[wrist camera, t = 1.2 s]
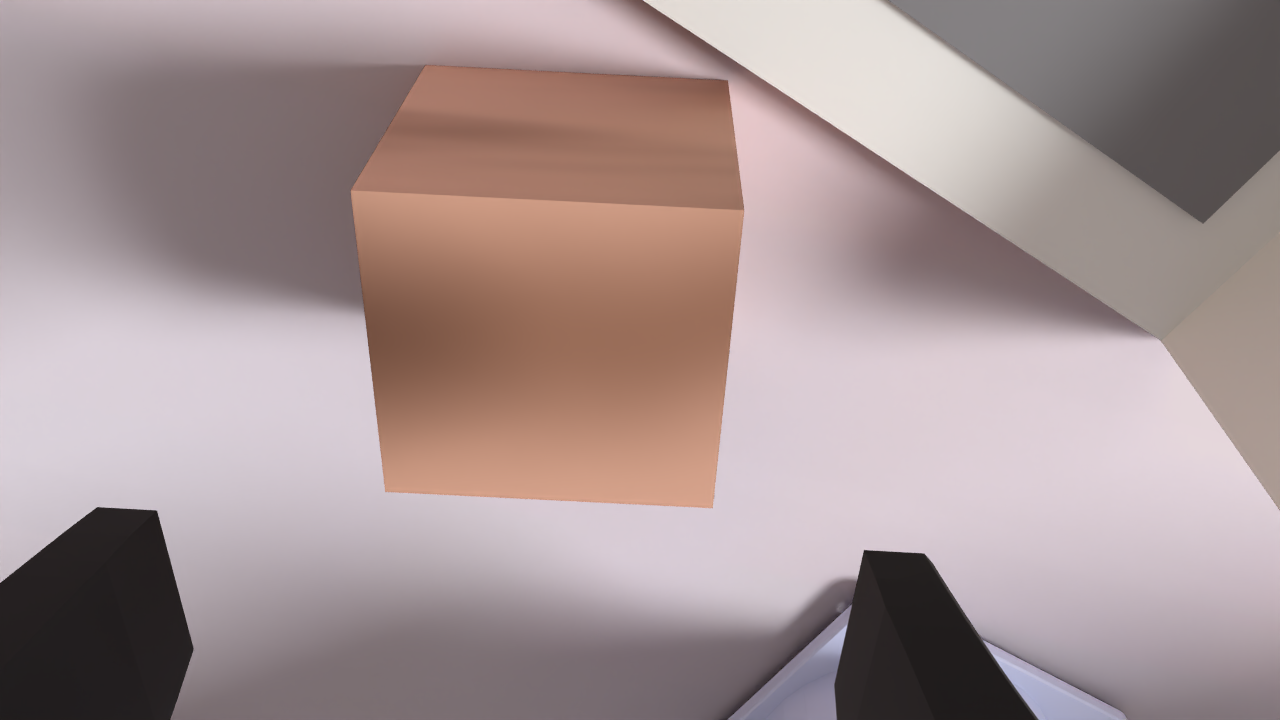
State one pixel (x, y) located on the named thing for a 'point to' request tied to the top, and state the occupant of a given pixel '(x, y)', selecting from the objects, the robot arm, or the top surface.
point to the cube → (551, 284)
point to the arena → (1074, 150)
